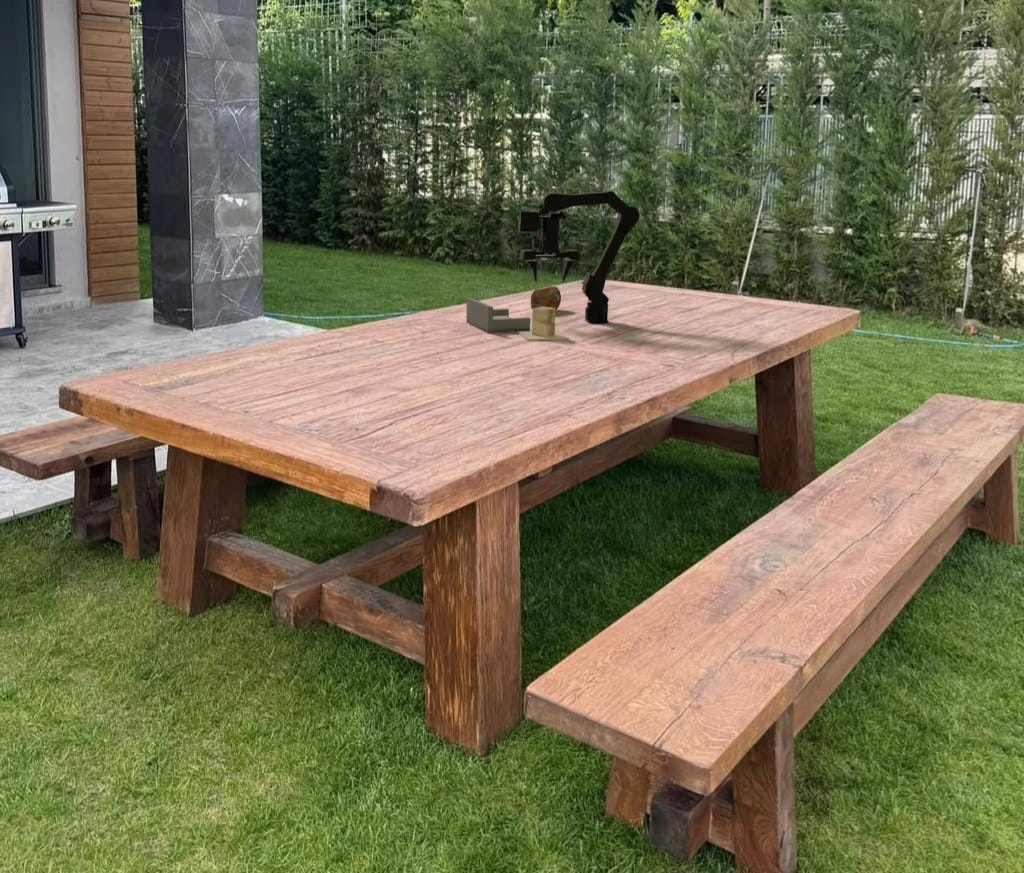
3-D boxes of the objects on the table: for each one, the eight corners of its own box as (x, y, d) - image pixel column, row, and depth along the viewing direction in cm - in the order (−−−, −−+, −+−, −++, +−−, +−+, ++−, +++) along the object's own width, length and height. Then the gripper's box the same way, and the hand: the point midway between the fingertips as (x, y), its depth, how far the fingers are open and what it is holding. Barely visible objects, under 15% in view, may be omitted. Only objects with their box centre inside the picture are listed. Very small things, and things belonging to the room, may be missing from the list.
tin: (536, 314, 374) (536, 289, 372) (528, 313, 376) (529, 289, 374) (561, 309, 386) (562, 285, 383) (554, 308, 388) (554, 284, 385)
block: (540, 332, 338) (541, 306, 336) (554, 334, 336) (555, 308, 334) (531, 334, 334) (532, 308, 332) (546, 336, 332) (546, 310, 329)
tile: (558, 332, 343) (558, 330, 342) (569, 340, 330) (569, 338, 330) (517, 333, 340) (517, 331, 340) (527, 341, 328) (527, 339, 327)
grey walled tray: (506, 320, 361) (507, 296, 359) (529, 330, 344) (530, 305, 342) (466, 322, 356) (466, 297, 354) (487, 333, 339) (488, 307, 336)
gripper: (572, 230, 363) (570, 278, 367) (516, 230, 359) (515, 278, 363) (581, 233, 353) (579, 282, 357) (524, 233, 349) (523, 283, 353)
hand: (549, 281), depth 358 cm, fingers open, 9 cm apart
